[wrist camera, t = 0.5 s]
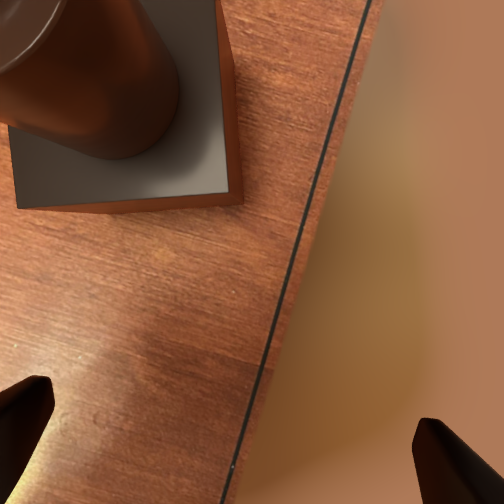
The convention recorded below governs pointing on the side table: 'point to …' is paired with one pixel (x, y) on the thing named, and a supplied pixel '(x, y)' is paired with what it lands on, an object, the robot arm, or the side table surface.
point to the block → (168, 145)
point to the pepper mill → (86, 75)
